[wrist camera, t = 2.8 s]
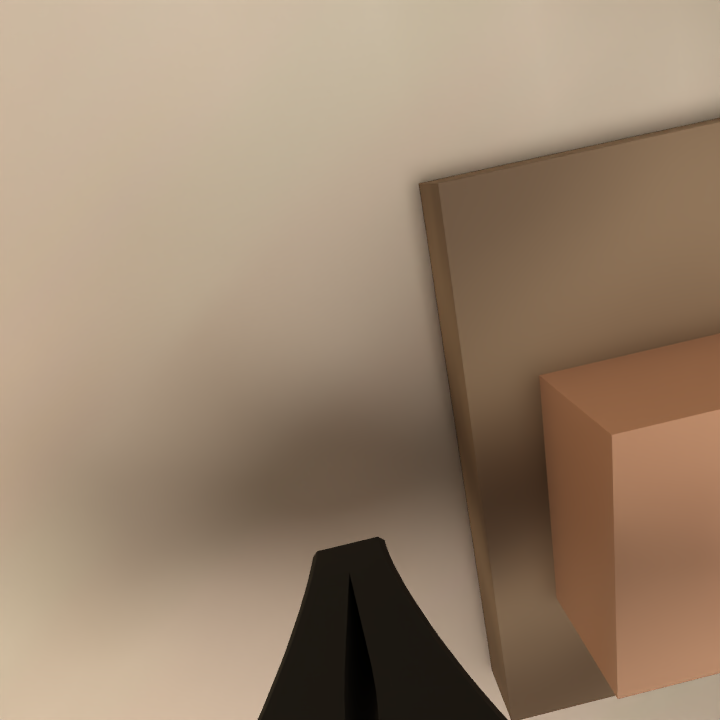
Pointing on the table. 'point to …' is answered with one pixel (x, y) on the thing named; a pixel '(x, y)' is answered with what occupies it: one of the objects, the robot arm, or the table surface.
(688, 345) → the terracotta tile
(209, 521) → the table surface
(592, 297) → the walnut board
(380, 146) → the table surface
